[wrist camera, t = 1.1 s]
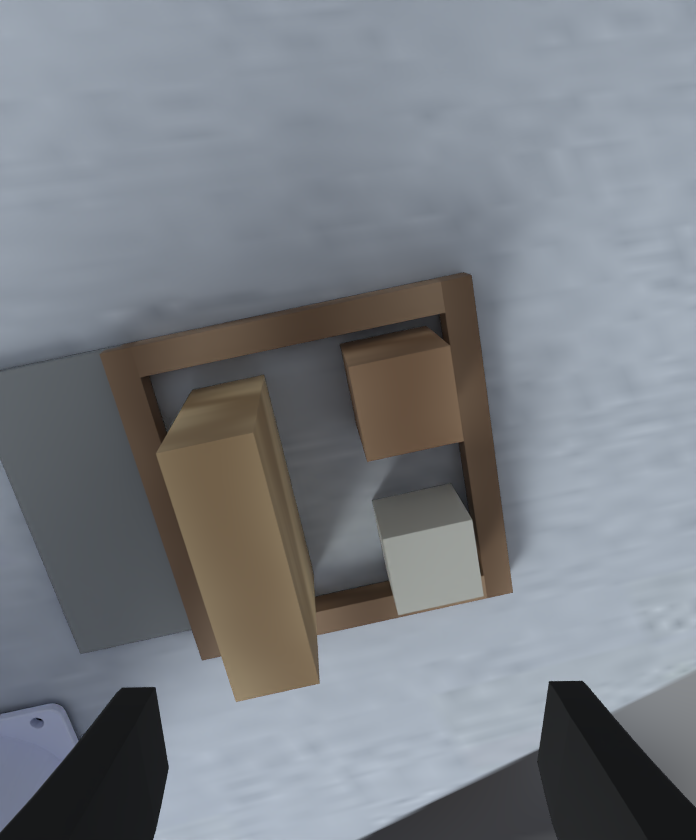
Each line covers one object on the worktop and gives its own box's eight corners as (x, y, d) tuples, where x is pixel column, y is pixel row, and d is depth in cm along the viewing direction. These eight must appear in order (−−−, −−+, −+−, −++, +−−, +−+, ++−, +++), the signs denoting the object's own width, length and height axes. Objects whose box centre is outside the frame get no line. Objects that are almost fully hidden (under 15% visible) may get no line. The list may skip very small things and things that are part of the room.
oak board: (249, 585, 24) (235, 701, 18) (192, 389, 21) (155, 453, 16) (313, 572, 24) (319, 683, 18) (263, 374, 21) (253, 432, 16)
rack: (205, 643, 25) (201, 660, 24) (108, 347, 21) (99, 353, 20) (504, 578, 25) (513, 592, 24) (463, 272, 21) (471, 275, 20)
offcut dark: (356, 425, 22) (367, 461, 19) (339, 343, 21) (348, 367, 18) (438, 407, 22) (464, 441, 19) (425, 325, 21) (450, 345, 18)
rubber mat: (84, 647, 24) (80, 654, 24) (-27, 375, 21) (-33, 379, 20) (211, 619, 24) (210, 625, 24) (123, 344, 21) (119, 346, 20)
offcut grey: (386, 568, 24) (398, 615, 21) (371, 499, 23) (382, 539, 20) (461, 551, 24) (483, 596, 21) (450, 482, 23) (472, 519, 20)
